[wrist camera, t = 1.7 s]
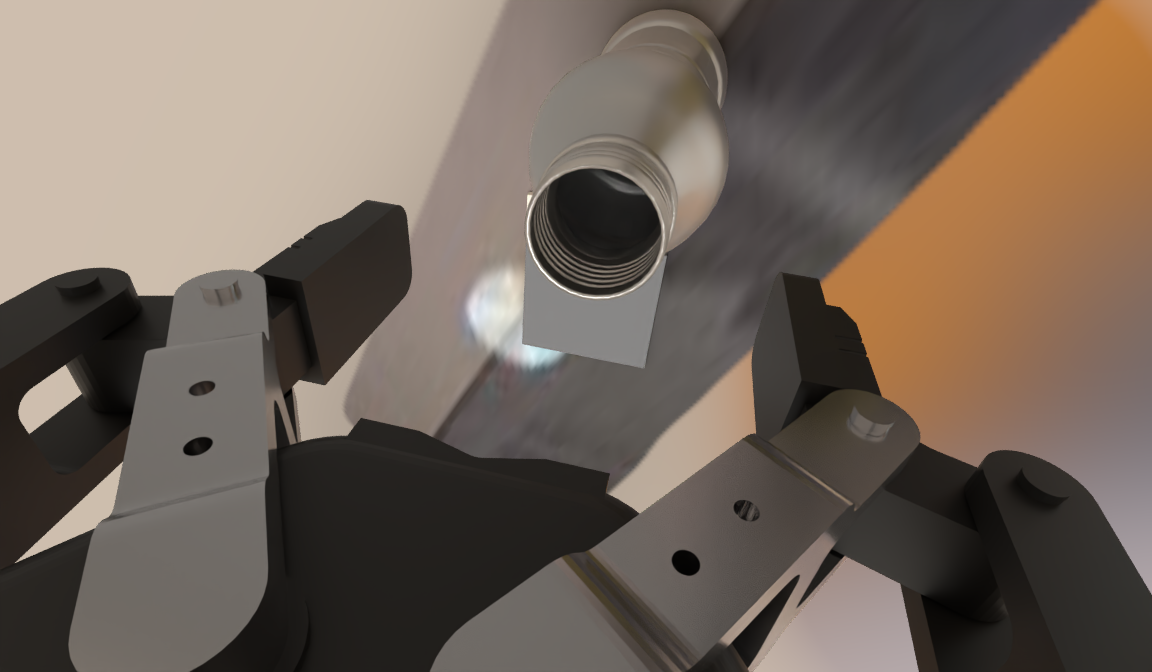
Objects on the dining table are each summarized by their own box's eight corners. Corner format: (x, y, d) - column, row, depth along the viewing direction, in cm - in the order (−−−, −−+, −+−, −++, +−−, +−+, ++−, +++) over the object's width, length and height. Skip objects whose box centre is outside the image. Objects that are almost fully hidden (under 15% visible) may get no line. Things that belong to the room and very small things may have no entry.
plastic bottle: (585, 115, 32) (445, 294, 16) (631, -19, 28) (504, 40, 12) (691, 159, 32) (658, 383, 16) (752, 33, 28) (790, 161, 12)
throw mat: (529, 191, 35) (527, 194, 35) (674, 215, 34) (674, 219, 34) (523, 340, 42) (521, 344, 41) (644, 365, 41) (644, 369, 40)
